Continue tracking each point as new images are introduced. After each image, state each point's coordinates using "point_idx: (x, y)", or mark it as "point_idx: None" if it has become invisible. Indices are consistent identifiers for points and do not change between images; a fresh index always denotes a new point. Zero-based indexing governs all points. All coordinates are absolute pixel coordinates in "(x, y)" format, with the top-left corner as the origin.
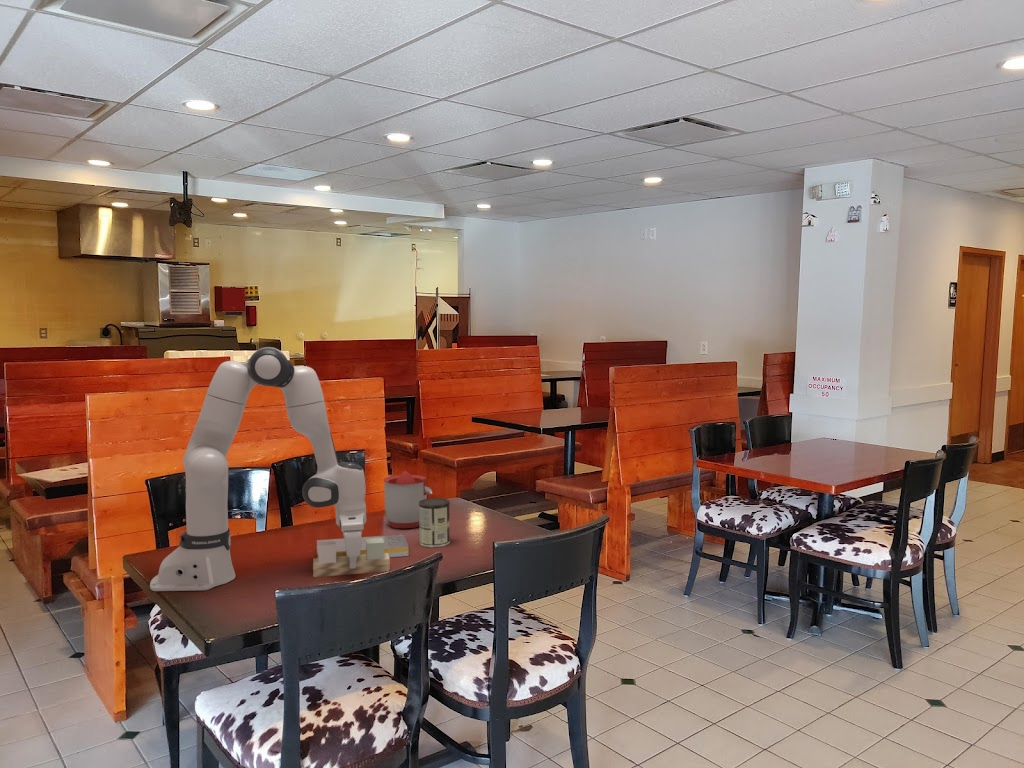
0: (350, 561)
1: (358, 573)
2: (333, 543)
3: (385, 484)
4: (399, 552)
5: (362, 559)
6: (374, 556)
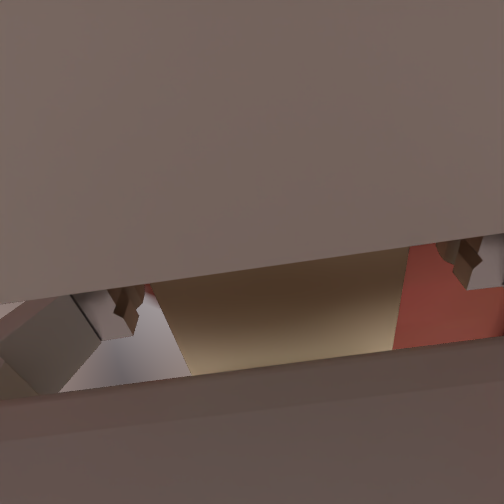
0: (15, 319)
1: None
2: (270, 92)
3: None
4: None
5: (236, 356)
6: None
